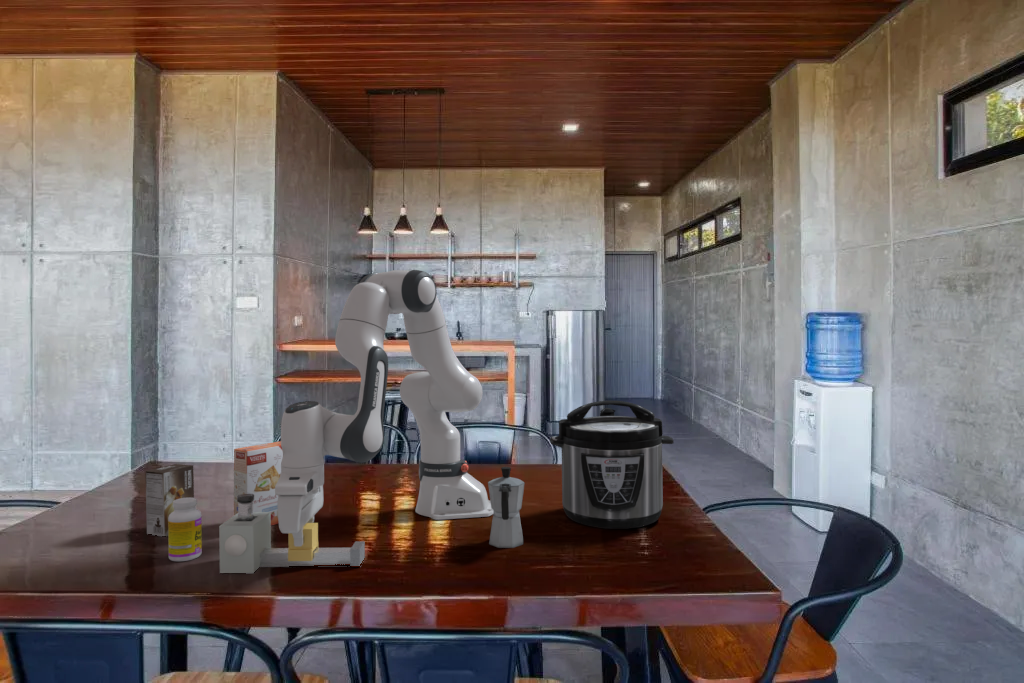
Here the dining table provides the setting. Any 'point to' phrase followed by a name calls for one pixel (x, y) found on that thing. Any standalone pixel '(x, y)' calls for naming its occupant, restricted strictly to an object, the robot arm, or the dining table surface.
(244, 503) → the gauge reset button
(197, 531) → the supplement bottle
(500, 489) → the coffee maker
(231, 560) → the cabinet
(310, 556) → the rail carriage
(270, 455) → the cracker box
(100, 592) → the dining table surface
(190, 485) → the coffee box
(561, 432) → the pressure cooker
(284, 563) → the slide rail
